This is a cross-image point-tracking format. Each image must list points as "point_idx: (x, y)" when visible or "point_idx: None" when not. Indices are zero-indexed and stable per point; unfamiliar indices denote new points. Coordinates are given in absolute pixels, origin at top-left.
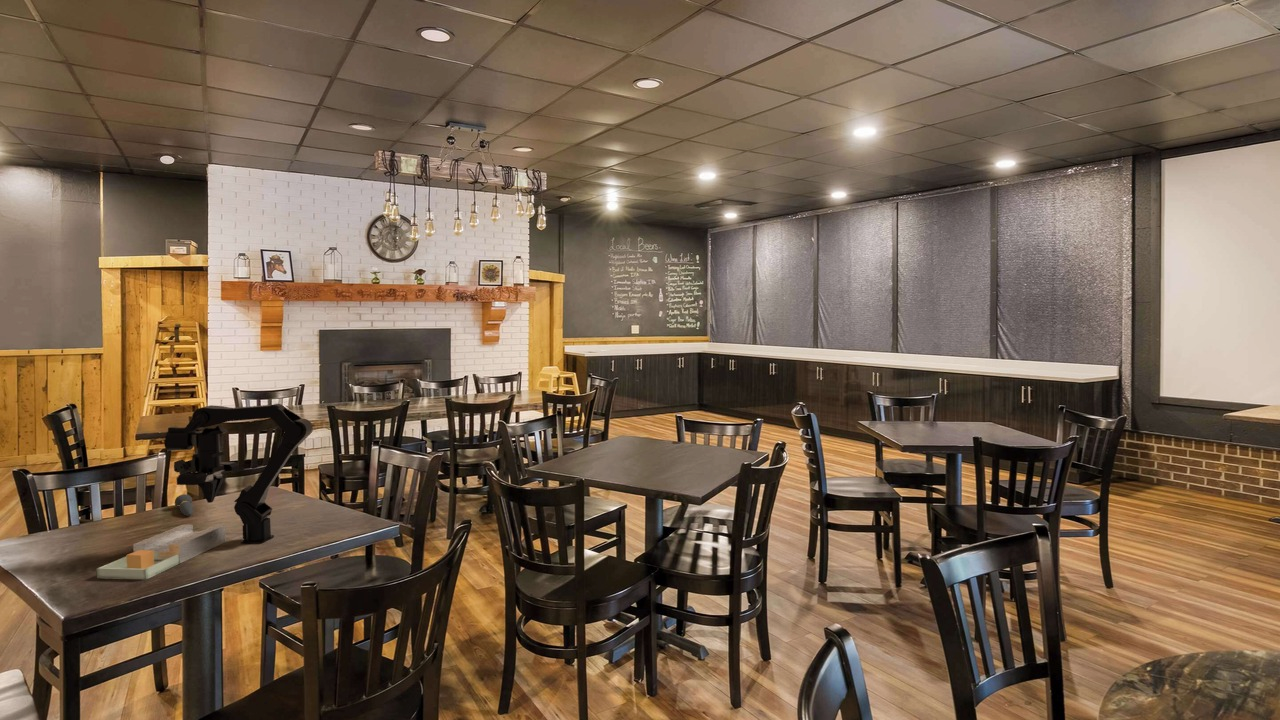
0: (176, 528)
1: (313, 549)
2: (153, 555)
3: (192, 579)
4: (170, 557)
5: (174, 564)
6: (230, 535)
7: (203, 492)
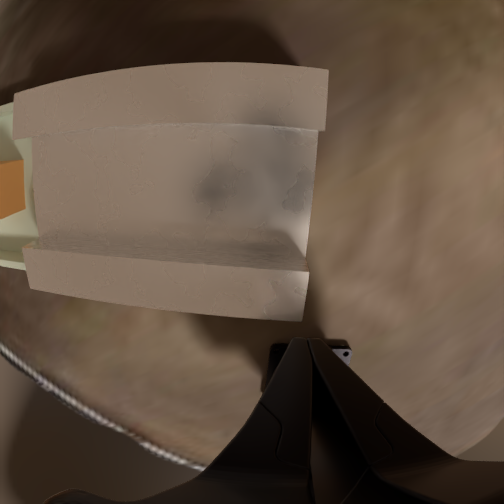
0: (242, 83)
1: None
2: (4, 217)
3: (18, 347)
4: (24, 264)
5: None
6: (385, 250)
7: (259, 405)
